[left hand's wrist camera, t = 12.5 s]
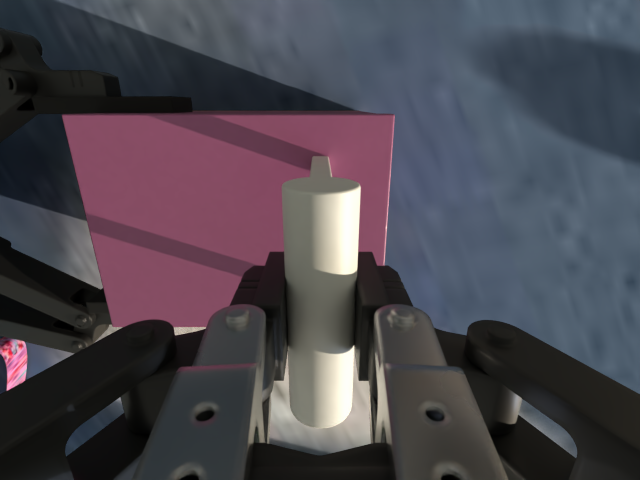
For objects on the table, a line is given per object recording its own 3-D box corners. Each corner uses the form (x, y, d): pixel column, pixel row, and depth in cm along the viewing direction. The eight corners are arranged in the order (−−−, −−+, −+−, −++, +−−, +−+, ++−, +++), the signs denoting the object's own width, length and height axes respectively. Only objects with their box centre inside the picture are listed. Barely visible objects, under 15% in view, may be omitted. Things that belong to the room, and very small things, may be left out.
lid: (389, 113, 16) (464, 122, 8) (376, 314, 19) (418, 465, 11) (78, 113, 16) (-179, 122, 8) (123, 315, 19) (-18, 466, 11)
